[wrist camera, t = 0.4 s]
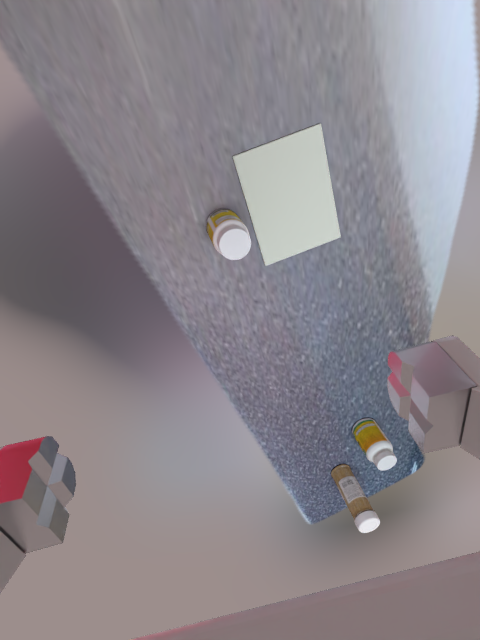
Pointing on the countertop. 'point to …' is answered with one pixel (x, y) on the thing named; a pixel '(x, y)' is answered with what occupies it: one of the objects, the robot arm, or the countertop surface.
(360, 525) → the sprinkles bottle
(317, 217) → the rubber mat
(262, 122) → the countertop surface
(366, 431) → the supplement bottle
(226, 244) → the supplement bottle
